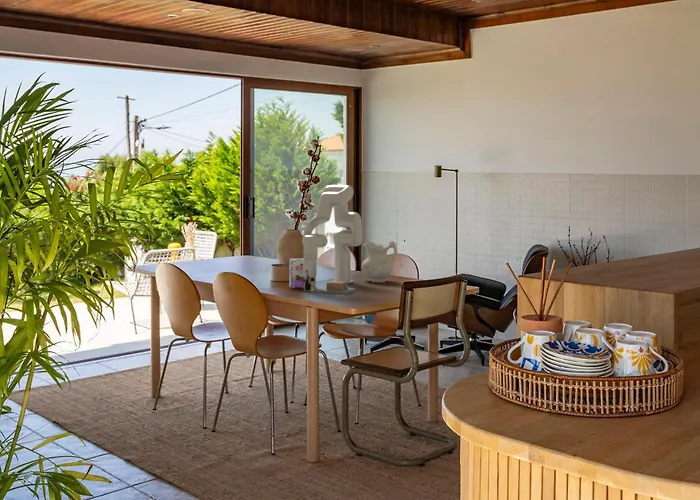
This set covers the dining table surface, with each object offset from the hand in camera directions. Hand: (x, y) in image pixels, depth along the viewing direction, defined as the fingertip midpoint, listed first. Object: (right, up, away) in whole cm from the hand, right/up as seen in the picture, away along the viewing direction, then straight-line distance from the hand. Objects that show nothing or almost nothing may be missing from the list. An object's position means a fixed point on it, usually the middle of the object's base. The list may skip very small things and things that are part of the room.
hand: (310, 289), depth 467 cm
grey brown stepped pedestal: (+15, -1, -5) cm, 16 cm away
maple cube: (0, -1, 0) cm, 1 cm away
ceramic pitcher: (+40, +3, +42) cm, 58 cm away
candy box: (-5, 0, +12) cm, 13 cm away
